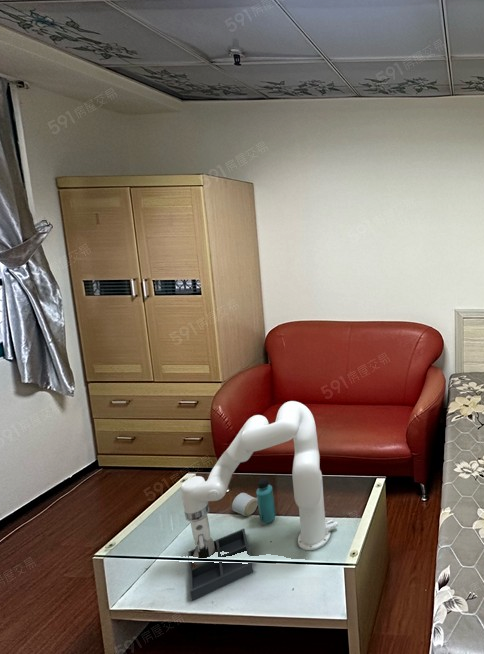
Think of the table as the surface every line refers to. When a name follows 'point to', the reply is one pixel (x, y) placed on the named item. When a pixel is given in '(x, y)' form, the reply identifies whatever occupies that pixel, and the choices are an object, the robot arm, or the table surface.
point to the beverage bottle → (265, 501)
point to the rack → (219, 566)
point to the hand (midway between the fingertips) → (203, 549)
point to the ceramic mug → (244, 504)
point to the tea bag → (210, 547)
